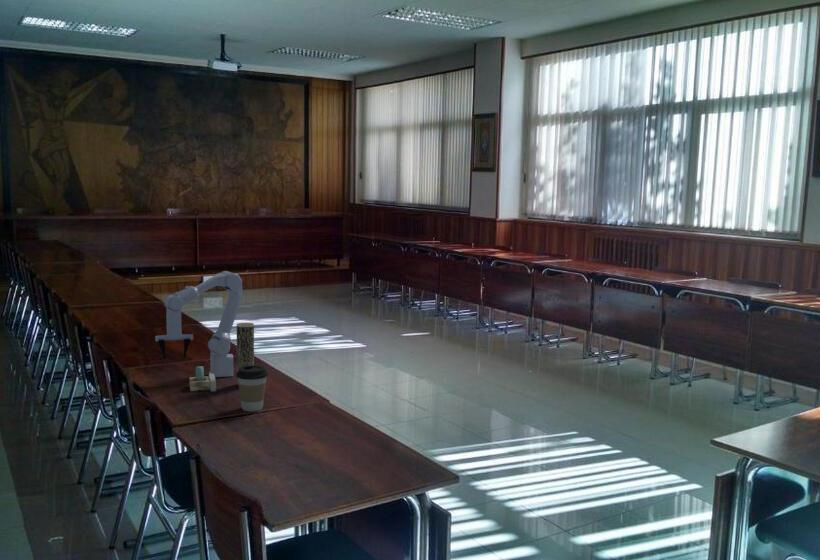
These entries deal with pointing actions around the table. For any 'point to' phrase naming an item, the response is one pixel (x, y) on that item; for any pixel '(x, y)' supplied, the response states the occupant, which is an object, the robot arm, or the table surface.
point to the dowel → (200, 373)
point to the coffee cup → (252, 387)
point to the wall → (212, 382)
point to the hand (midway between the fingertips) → (174, 357)
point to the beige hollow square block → (199, 384)
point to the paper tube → (245, 345)
